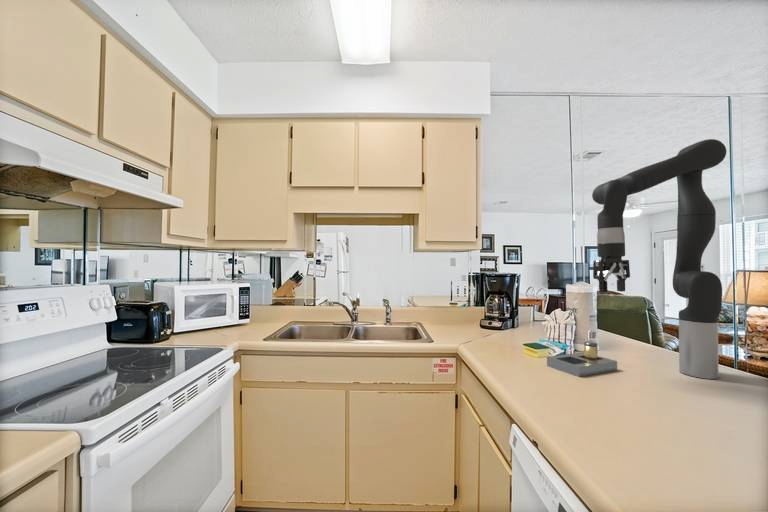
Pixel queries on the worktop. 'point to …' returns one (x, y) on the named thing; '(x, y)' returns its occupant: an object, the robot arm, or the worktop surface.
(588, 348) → the gold and grey cylinder
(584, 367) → the grey fitting block
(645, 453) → the worktop surface
